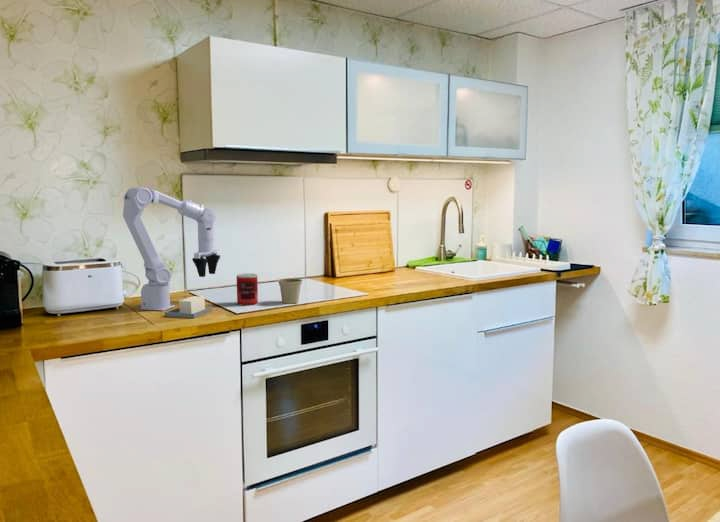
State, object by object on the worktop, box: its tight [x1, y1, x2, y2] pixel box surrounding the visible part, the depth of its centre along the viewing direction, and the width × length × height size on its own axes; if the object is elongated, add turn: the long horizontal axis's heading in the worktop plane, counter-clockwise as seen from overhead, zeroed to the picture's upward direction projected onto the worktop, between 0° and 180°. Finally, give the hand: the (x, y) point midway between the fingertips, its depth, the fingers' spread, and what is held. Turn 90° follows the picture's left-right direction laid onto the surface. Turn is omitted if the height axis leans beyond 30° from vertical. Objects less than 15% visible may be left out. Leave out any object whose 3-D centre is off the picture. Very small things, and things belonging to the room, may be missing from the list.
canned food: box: [236, 273, 259, 306], centre depth 210 cm, size 8×8×11 cm
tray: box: [164, 306, 213, 319], centre depth 193 cm, size 11×12×2 cm
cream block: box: [178, 295, 206, 314], centre depth 195 cm, size 4×4×9 cm
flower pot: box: [277, 278, 303, 305], centre depth 213 cm, size 9×9×9 cm
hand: (207, 275), depth 213 cm, fingers open, 7 cm apart
